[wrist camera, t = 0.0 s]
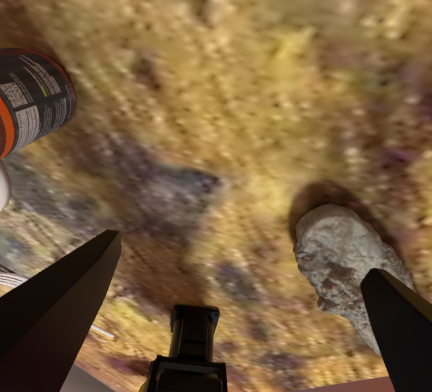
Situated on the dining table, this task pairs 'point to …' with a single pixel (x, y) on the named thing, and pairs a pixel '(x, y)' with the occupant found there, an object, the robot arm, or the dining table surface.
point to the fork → (11, 278)
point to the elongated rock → (343, 262)
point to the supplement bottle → (31, 98)
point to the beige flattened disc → (4, 187)
